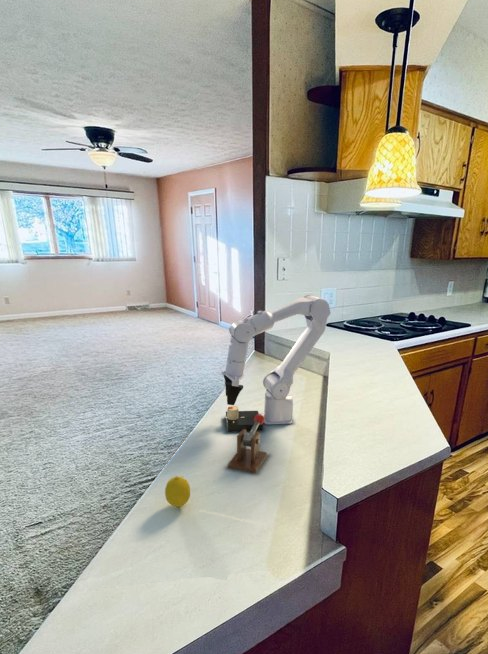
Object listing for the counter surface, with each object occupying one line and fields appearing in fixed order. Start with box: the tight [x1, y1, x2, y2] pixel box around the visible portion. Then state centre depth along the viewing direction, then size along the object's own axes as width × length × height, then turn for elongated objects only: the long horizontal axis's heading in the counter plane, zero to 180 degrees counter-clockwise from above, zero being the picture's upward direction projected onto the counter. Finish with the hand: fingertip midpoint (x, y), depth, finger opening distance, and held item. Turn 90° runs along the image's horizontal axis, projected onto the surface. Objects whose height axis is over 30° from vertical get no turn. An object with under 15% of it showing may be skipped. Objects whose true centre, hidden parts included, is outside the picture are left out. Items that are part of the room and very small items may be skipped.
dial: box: [226, 405, 239, 420], centre depth 134 cm, size 4×4×4 cm
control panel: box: [220, 410, 263, 433], centre depth 135 cm, size 13×11×3 cm
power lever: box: [243, 413, 264, 448], centre depth 115 cm, size 12×3×3 cm, turn 164°
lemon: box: [164, 475, 191, 508], centre depth 93 cm, size 6×6×8 cm
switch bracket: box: [227, 429, 268, 474], centre depth 113 cm, size 10×8×9 cm
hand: (229, 400), depth 132 cm, fingers open, 7 cm apart
